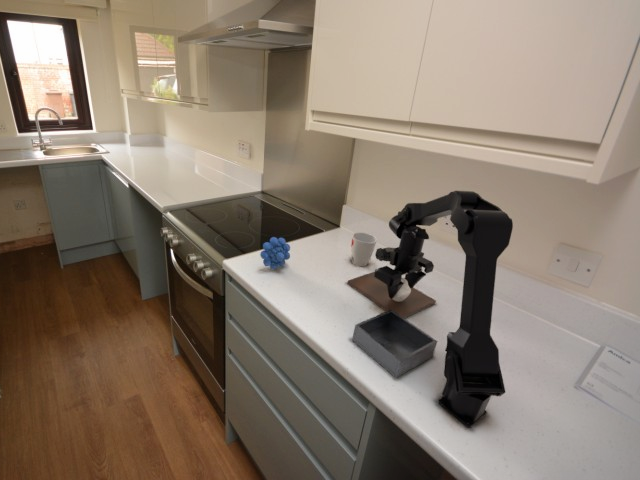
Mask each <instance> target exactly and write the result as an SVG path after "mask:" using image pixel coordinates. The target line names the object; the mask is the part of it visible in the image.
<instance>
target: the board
mask: <svg viewBox="0 0 640 480" xmlns="http://www.w3.org/2000/svg"><path fill="white" fill-rule="evenodd" d="M374 273H375V271H372V272H369V273H366V274H364V275H360V276H357V277H354V278H351V279H348V280H347V285H349V286H350V287H351V288H353V289H354V290H356V291H357V292H358V293H360V294H361V295H363V296H364V297H366V298H367V299H369V300H370V301H371V302H373V303H375V304H376V305H378V306H379V308H381V309H383V310H384V311H385V312H387V311H389V310H393V311H394V312H396V313H397V314H398V315H400V316H401V317H403V318H404V319H406V318H408V317H410V316H412V315H414V314H416V313H418V312H421V311H423V310H425V309H428V308H430V307H432V306H434V305H435V304H436V302H437V300H436V299H434V298H432V297H430V296H428V295H427V294H425V293H424V292H422V291H420V290H418V289H417V288H415V287H414V286H413V287H412V288H411V293H410V294H409V296H408V297H406V298H405V299H404V300H403V301H401V302H398V301H395V300H393V299H391V298H390V297H389V294H388V288H387V284H385V283H383V282H382V281H380V280H379V279H377V278H375V277H374Z"/></svg>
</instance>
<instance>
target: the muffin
mask: <svg viewBox="0 0 640 480" xmlns="http://www.w3.org/2000/svg"><path fill="white" fill-rule="evenodd" d="M401 282H403V283H404V284H403V285H402V287H401V288H400V289H399V291H398V292H397V294H396V295H395V296H394V298H393V300H395V301H398V302H401V301H403V300H404V299H405V298H406V297H408V296H409V294H410V293H411V289H410V287H409V285H408V281H407V280H406V279H405V277H402V279H401Z"/></svg>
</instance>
